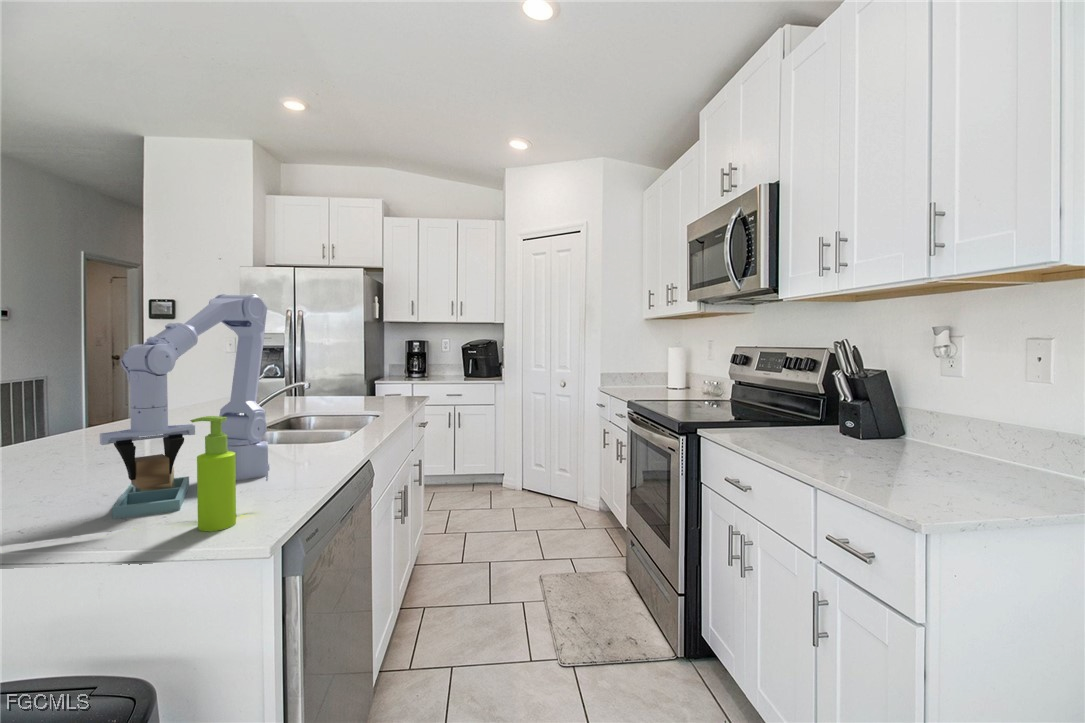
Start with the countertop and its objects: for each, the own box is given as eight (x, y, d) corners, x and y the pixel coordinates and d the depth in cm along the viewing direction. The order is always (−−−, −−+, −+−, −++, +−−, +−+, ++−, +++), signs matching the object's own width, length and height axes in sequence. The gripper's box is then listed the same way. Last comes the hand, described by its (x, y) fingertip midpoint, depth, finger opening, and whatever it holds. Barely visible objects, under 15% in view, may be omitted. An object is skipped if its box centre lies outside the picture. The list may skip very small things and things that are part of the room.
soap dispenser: (203, 519, 95) (202, 414, 94) (242, 519, 96) (241, 414, 95) (184, 531, 89) (182, 419, 88) (225, 531, 90) (224, 419, 89)
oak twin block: (174, 489, 109) (173, 466, 109) (171, 496, 105) (170, 472, 105) (145, 492, 107) (144, 469, 107) (140, 499, 103) (140, 475, 102)
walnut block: (162, 478, 102) (162, 453, 102) (169, 483, 99) (169, 458, 98) (131, 483, 98) (130, 458, 98) (137, 488, 95) (136, 462, 95)
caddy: (189, 489, 113) (189, 476, 112) (179, 515, 97) (179, 499, 97) (132, 496, 108) (131, 482, 107) (112, 523, 92) (112, 507, 92)
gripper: (187, 401, 106) (188, 465, 106) (95, 407, 95) (97, 479, 95) (198, 404, 101) (198, 471, 102) (103, 412, 90) (104, 487, 91)
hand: (150, 476), depth 98 cm, fingers closed on walnut block, 5 cm apart
